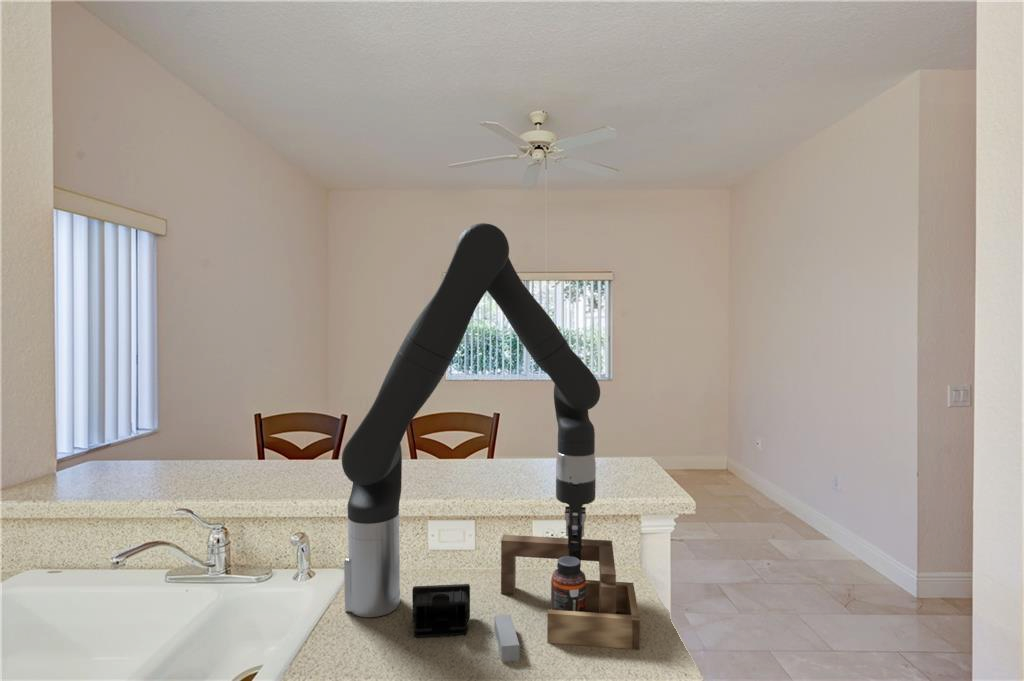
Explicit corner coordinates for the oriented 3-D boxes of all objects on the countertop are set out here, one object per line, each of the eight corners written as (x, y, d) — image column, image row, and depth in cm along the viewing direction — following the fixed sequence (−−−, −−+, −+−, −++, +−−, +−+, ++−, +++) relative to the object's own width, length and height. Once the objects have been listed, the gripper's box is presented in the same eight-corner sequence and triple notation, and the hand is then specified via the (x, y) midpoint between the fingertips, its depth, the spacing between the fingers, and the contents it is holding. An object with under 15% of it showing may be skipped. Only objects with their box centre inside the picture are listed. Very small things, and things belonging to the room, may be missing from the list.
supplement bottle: (583, 635, 97) (584, 570, 96) (549, 630, 98) (549, 566, 97) (586, 616, 102) (587, 555, 102) (553, 612, 104) (554, 552, 103)
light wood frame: (547, 642, 94) (547, 613, 94) (551, 603, 107) (551, 577, 106) (639, 649, 92) (639, 619, 92) (632, 609, 105) (633, 582, 104)
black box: (469, 613, 103) (469, 577, 103) (470, 636, 96) (470, 597, 96) (413, 616, 102) (413, 579, 102) (410, 639, 95) (410, 600, 95)
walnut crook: (490, 630, 98) (490, 570, 97) (503, 585, 113) (503, 534, 112) (615, 639, 95) (616, 578, 94) (611, 593, 110) (611, 540, 110)
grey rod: (494, 631, 98) (494, 615, 98) (510, 629, 99) (510, 614, 98) (501, 663, 89) (501, 646, 89) (519, 661, 90) (519, 644, 89)
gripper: (557, 464, 116) (557, 546, 117) (554, 485, 102) (553, 579, 103) (594, 465, 115) (593, 548, 116) (596, 487, 101) (595, 582, 102)
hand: (574, 562), depth 109 cm, fingers closed on walnut crook, 2 cm apart
